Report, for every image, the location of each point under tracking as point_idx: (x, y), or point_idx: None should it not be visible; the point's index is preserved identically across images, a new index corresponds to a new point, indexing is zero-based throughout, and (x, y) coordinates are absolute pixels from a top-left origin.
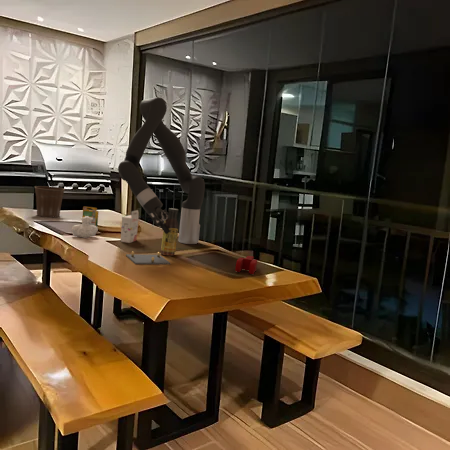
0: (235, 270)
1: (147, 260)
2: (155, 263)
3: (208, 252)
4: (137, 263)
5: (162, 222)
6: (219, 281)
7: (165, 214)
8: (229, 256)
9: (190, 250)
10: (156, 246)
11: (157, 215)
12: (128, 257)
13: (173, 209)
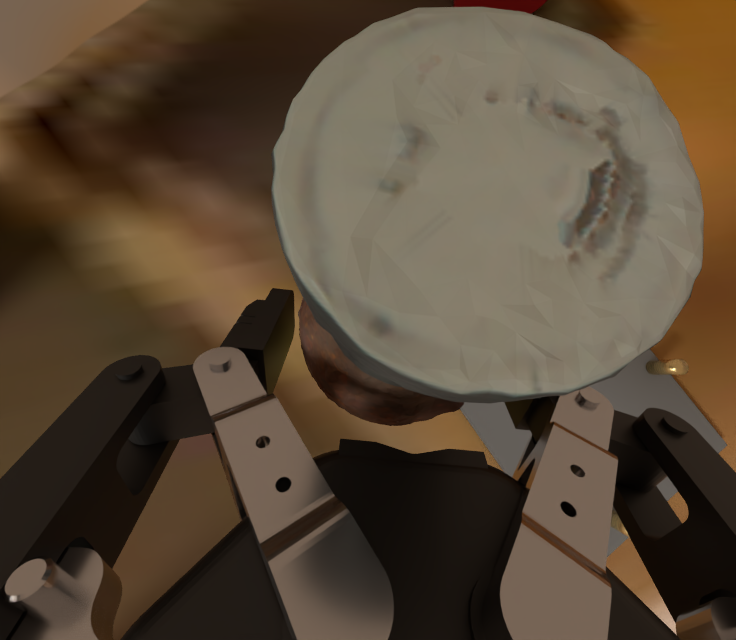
0: (540, 5)
1: (636, 404)
2: (647, 351)
3: (148, 163)
4: (714, 433)
5: (610, 417)
6: (711, 60)
7: (337, 499)
8: (193, 53)
9: (151, 266)
10: (150, 505)
11: (651, 623)
12: (621, 535)
13: (679, 141)
